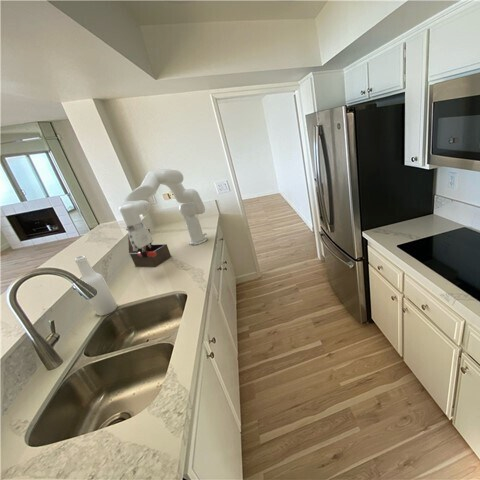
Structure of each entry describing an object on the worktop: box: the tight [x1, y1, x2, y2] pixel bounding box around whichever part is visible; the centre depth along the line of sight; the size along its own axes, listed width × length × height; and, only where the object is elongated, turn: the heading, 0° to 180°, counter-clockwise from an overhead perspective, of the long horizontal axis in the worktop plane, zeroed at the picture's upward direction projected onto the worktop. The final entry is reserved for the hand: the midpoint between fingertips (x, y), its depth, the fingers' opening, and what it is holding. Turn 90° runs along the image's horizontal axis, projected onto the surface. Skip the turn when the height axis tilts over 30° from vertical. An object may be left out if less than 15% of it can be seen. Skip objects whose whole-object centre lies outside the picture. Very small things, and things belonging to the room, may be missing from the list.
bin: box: [129, 243, 172, 268], centre depth 181 cm, size 15×17×10 cm
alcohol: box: [74, 255, 118, 317], centre depth 126 cm, size 9×9×30 cm
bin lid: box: [127, 228, 151, 254], centre depth 170 cm, size 15×17×5 cm
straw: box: [138, 251, 156, 257], centre depth 152 cm, size 12×3×3 cm, turn 77°
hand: (147, 255), depth 153 cm, fingers closed on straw, 3 cm apart
